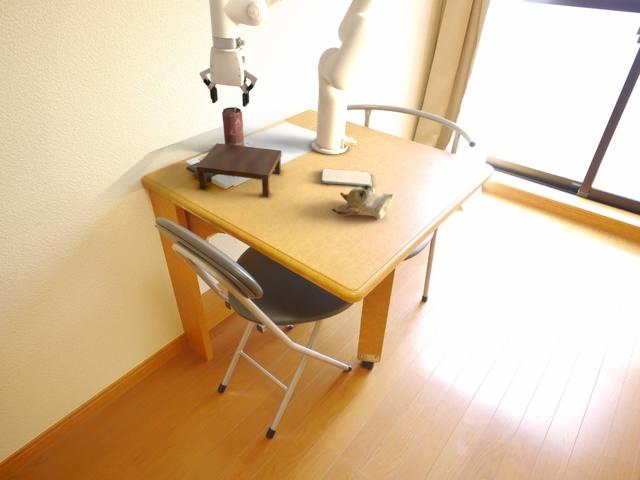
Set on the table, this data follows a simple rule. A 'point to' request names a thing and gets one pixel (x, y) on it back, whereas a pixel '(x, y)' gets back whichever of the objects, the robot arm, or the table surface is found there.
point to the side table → (240, 164)
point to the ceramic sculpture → (365, 202)
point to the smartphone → (346, 177)
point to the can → (233, 126)
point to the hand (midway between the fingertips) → (230, 103)
